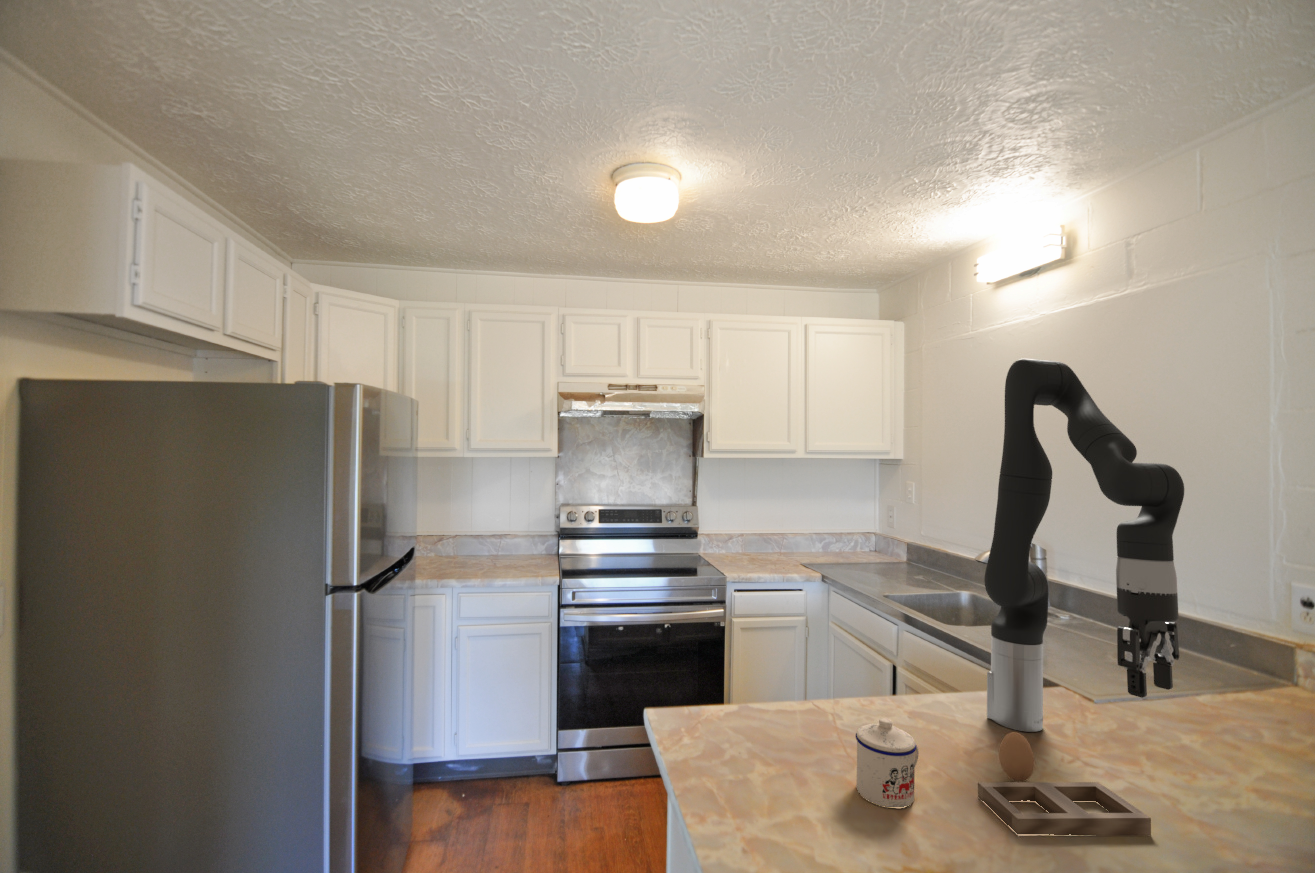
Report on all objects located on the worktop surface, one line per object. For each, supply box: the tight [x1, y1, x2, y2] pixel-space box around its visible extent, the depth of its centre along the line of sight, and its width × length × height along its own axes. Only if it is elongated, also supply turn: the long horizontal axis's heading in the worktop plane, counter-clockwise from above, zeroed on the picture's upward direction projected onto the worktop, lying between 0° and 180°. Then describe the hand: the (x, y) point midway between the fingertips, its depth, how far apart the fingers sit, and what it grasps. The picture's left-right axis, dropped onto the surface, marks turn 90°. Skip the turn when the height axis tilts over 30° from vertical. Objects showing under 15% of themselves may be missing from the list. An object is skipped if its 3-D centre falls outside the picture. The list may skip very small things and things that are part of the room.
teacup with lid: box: [855, 717, 919, 807], centre depth 95 cm, size 12×9×12 cm
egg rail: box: [977, 781, 1152, 837], centre depth 89 cm, size 20×10×2 cm, turn 93°
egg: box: [998, 731, 1035, 782], centre depth 99 cm, size 5×5×8 cm
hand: (1150, 691), depth 93 cm, fingers open, 8 cm apart
